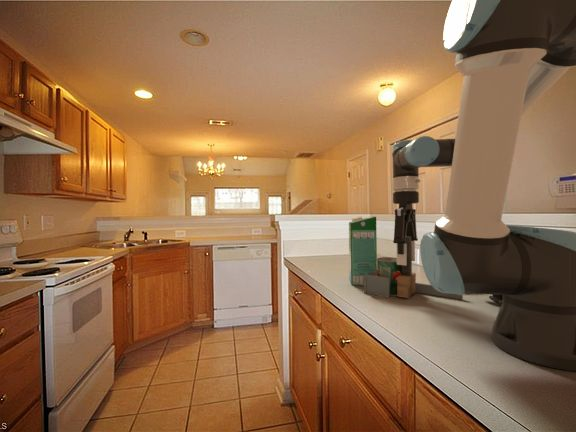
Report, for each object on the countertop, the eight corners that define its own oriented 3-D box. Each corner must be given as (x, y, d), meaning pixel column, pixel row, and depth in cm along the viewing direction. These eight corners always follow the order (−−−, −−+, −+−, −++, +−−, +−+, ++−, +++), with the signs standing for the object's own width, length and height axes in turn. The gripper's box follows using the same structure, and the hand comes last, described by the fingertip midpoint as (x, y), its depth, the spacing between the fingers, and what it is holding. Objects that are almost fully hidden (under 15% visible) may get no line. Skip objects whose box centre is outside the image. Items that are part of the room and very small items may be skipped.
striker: (407, 298, 84) (407, 238, 83) (397, 296, 85) (396, 237, 85) (415, 291, 91) (415, 236, 90) (406, 289, 92) (405, 235, 92)
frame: (456, 310, 74) (456, 287, 74) (364, 293, 91) (363, 274, 91) (462, 299, 84) (462, 279, 84) (378, 285, 100) (377, 269, 100)
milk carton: (349, 279, 110) (348, 216, 110) (372, 279, 109) (372, 216, 108) (351, 285, 101) (350, 216, 101) (377, 285, 100) (376, 216, 99)
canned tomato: (404, 296, 87) (404, 261, 87) (377, 295, 89) (377, 260, 89) (401, 289, 94) (400, 257, 94) (376, 288, 96) (376, 256, 96)
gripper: (408, 188, 77) (408, 269, 77) (426, 192, 94) (427, 259, 94) (381, 189, 82) (382, 266, 82) (403, 193, 98) (404, 257, 99)
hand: (406, 262), depth 88 cm, fingers open, 8 cm apart
